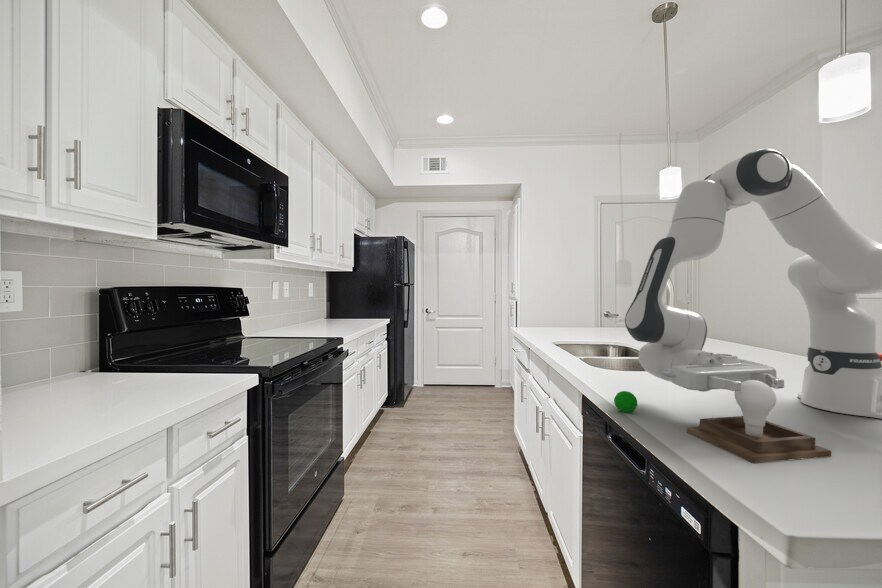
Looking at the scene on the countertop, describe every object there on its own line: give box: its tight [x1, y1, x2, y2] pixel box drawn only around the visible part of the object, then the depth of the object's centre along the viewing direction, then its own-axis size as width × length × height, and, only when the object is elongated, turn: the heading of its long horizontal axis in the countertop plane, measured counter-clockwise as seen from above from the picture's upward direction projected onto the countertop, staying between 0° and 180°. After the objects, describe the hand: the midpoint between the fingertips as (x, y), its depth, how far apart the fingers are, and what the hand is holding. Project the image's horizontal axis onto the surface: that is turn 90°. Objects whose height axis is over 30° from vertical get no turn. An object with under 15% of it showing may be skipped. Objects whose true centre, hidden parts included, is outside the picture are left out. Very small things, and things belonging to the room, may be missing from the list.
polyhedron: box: [613, 390, 638, 414], centre depth 91 cm, size 5×5×5 cm
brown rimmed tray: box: [686, 415, 832, 464], centre depth 73 cm, size 16×14×3 cm
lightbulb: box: [734, 380, 777, 439], centre depth 72 cm, size 6×6×11 cm
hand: (759, 385), depth 72 cm, fingers open, 8 cm apart
